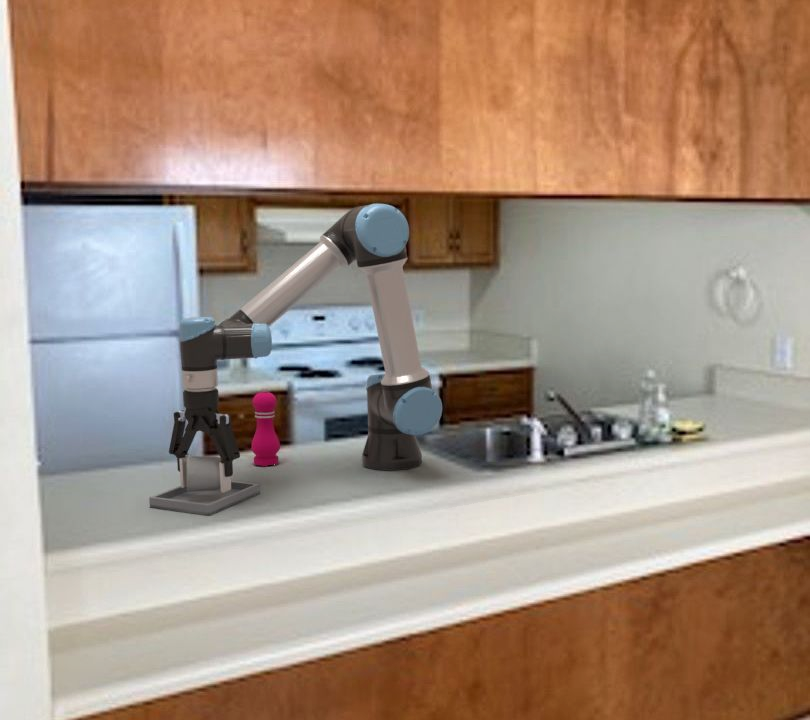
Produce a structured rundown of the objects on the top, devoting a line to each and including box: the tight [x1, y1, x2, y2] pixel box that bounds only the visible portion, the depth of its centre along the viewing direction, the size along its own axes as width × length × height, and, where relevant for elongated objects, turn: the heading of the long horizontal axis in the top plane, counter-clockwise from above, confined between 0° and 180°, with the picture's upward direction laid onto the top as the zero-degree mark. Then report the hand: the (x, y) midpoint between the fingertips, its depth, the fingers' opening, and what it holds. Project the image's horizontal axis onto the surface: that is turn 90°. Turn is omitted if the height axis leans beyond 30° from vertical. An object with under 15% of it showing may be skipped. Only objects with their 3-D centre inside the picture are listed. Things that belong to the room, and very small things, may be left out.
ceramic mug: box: [187, 455, 222, 492], centre depth 202 cm, size 11×8×8 cm
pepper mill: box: [251, 385, 281, 467], centre depth 233 cm, size 7×7×20 cm
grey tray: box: [148, 480, 261, 516], centre depth 201 cm, size 16×18×2 cm
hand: (205, 488), depth 201 cm, fingers closed on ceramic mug, 10 cm apart
